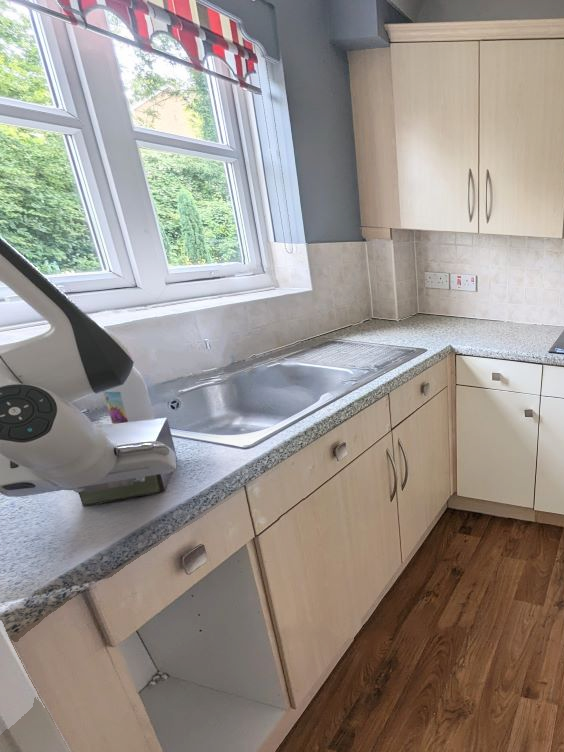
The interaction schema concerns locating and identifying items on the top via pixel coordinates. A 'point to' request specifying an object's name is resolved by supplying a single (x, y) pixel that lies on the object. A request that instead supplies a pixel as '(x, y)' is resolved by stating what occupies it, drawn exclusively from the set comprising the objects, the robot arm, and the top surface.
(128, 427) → the cabinet
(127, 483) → the drawer
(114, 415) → the milk bottle
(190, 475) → the top surface
